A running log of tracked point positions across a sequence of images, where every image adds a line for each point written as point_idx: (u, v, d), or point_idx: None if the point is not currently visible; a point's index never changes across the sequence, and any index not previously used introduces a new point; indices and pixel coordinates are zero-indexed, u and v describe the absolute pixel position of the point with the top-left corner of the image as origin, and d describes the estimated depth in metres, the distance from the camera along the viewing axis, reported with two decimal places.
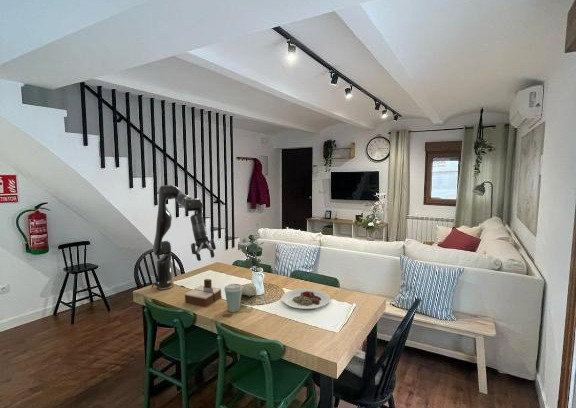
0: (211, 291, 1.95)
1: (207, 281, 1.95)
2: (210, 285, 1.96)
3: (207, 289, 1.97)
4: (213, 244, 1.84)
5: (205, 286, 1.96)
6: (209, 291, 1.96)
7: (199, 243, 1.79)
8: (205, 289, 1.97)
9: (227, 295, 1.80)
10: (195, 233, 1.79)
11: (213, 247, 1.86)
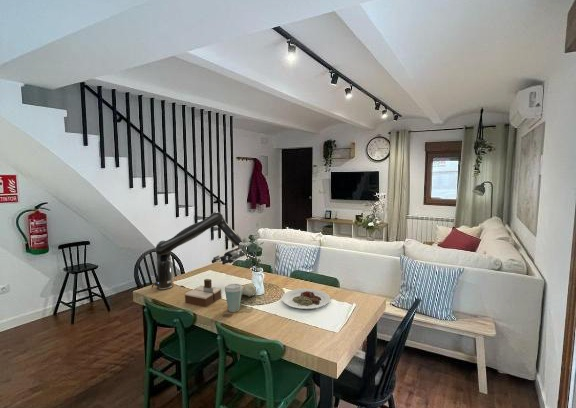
0: (211, 291, 1.95)
1: (207, 281, 1.95)
2: (210, 285, 1.96)
3: (207, 289, 1.97)
4: (217, 260, 2.14)
5: (205, 286, 1.96)
6: (209, 291, 1.96)
7: None
8: (205, 289, 1.97)
9: (227, 295, 1.80)
10: (235, 257, 2.17)
11: None
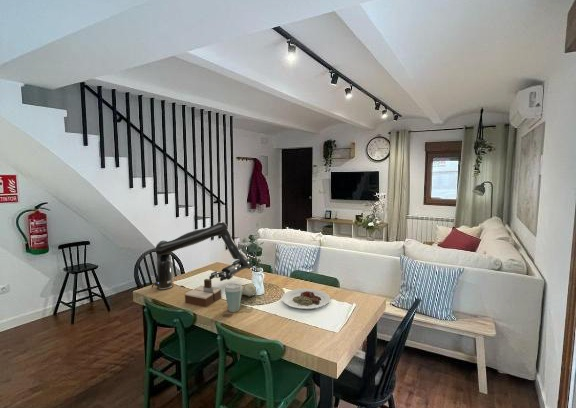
0: (211, 291, 1.95)
1: (207, 281, 1.95)
2: (210, 285, 1.95)
3: (207, 289, 1.96)
4: None
5: (205, 286, 1.96)
6: (209, 291, 1.96)
7: None
8: (205, 289, 1.97)
9: (227, 295, 1.80)
10: (233, 273, 2.16)
11: None
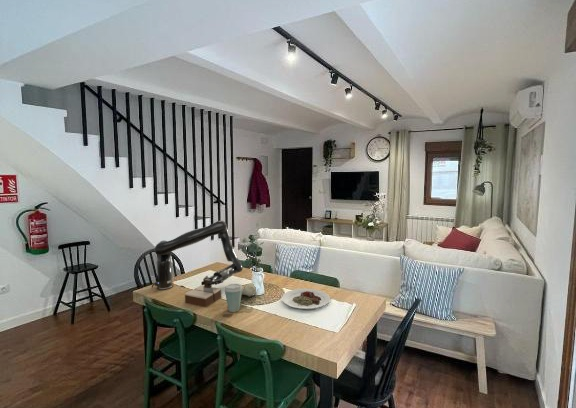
0: (211, 291, 1.95)
1: (207, 281, 1.95)
2: (210, 285, 1.95)
3: (207, 289, 1.96)
4: None
5: (205, 286, 1.96)
6: (209, 291, 1.96)
7: None
8: (205, 289, 1.97)
9: (227, 295, 1.80)
10: (225, 277, 2.07)
11: (204, 279, 2.01)
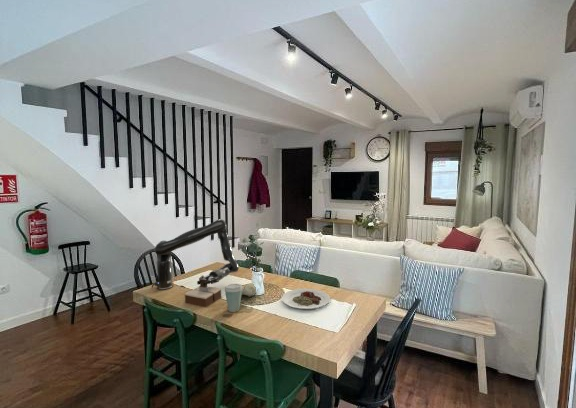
0: (207, 290, 1.97)
1: (203, 280, 1.96)
2: None
3: (203, 288, 1.98)
4: None
5: (201, 285, 1.97)
6: (205, 290, 1.97)
7: None
8: (201, 288, 1.98)
9: (227, 295, 1.80)
10: (221, 277, 2.09)
11: (200, 278, 2.02)
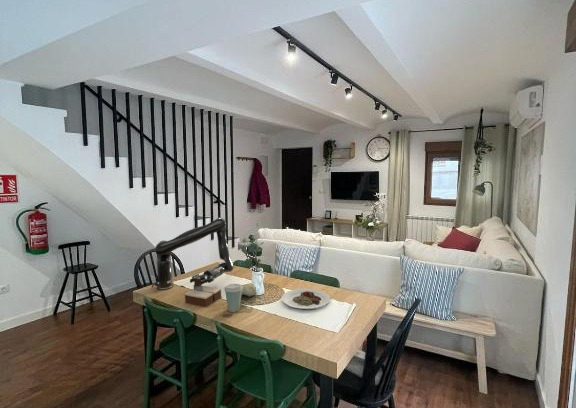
0: (201, 289, 1.99)
1: (197, 279, 1.98)
2: (200, 283, 1.99)
3: (197, 287, 2.00)
4: None
5: (195, 284, 1.99)
6: (199, 289, 1.99)
7: None
8: (195, 287, 2.00)
9: (227, 295, 1.80)
10: (215, 276, 2.11)
11: None
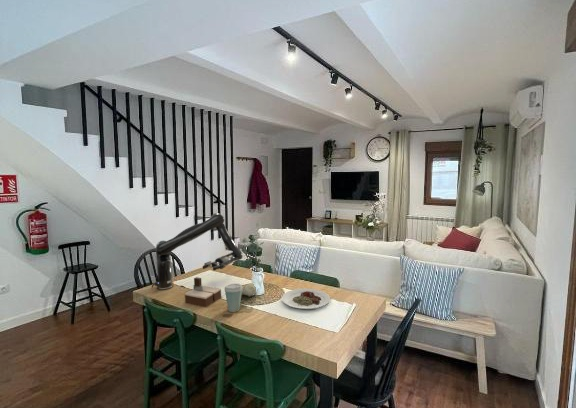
0: (201, 289, 1.99)
1: (197, 279, 1.98)
2: (200, 283, 1.99)
3: (197, 287, 2.00)
4: (208, 265, 2.18)
5: (195, 284, 1.99)
6: (199, 289, 1.99)
7: None
8: (195, 287, 2.00)
9: (227, 295, 1.80)
10: (226, 263, 2.22)
11: None
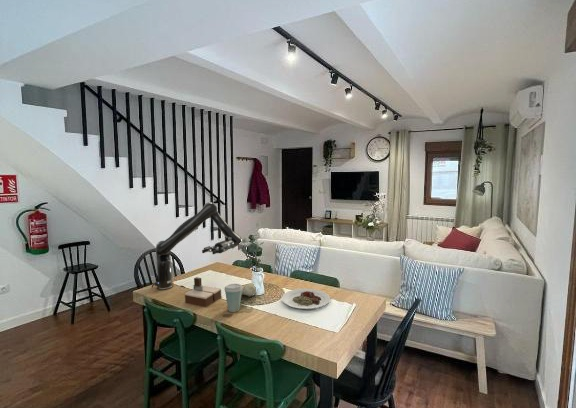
0: (201, 289, 1.99)
1: (197, 279, 1.98)
2: (200, 283, 1.99)
3: (197, 287, 2.00)
4: (207, 250, 2.17)
5: (195, 284, 1.99)
6: (199, 289, 1.99)
7: None
8: (195, 287, 2.00)
9: (227, 295, 1.80)
10: (225, 248, 2.21)
11: (205, 248, 2.16)
